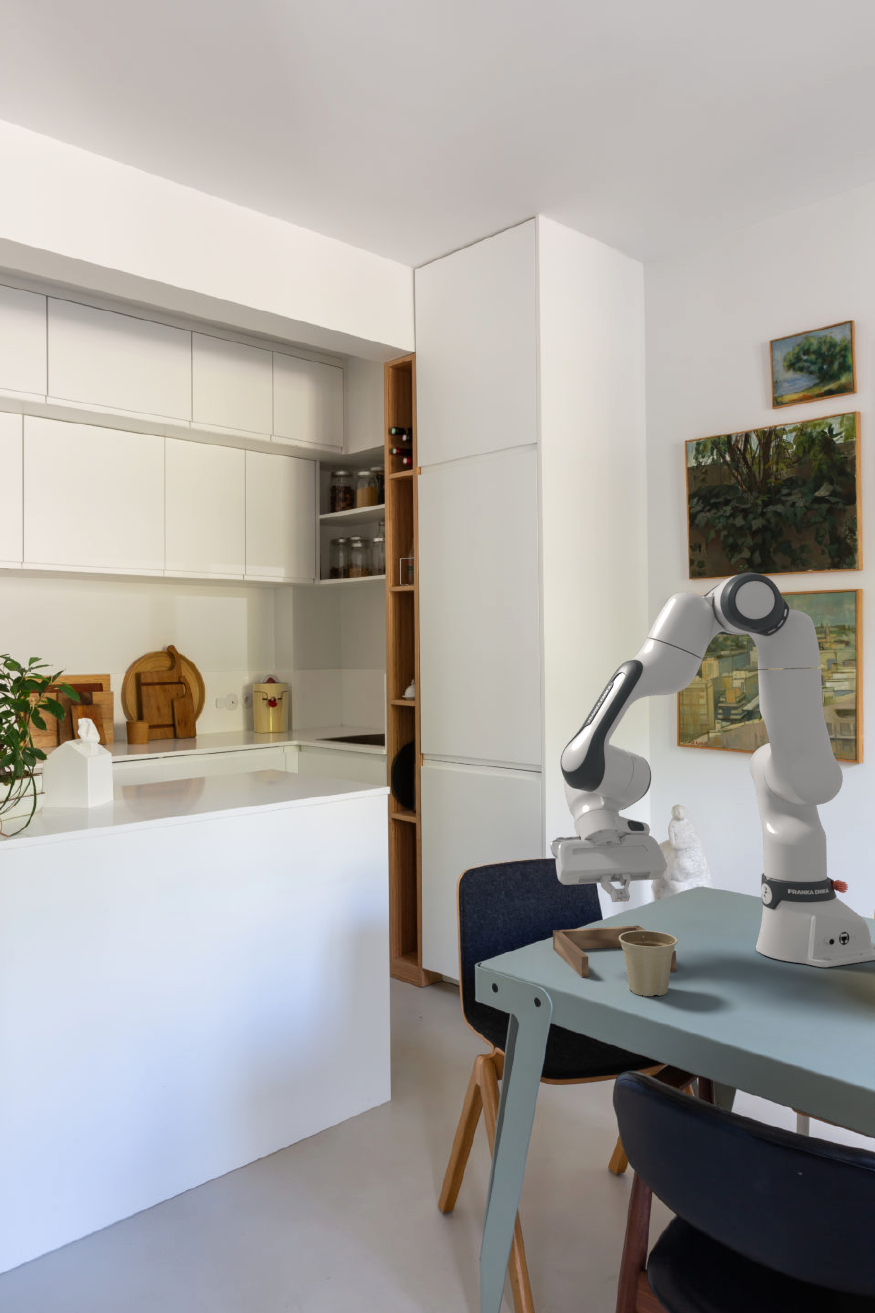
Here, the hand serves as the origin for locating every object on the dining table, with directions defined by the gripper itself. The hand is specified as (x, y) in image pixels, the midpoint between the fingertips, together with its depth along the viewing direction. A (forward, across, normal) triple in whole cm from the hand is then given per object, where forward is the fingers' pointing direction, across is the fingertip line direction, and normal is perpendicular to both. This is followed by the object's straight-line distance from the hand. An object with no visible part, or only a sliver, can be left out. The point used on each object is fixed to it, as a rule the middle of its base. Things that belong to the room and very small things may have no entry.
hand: (621, 900), depth 165 cm
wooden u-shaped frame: (+5, 0, +12) cm, 13 cm away
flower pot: (+17, 0, 0) cm, 17 cm away
